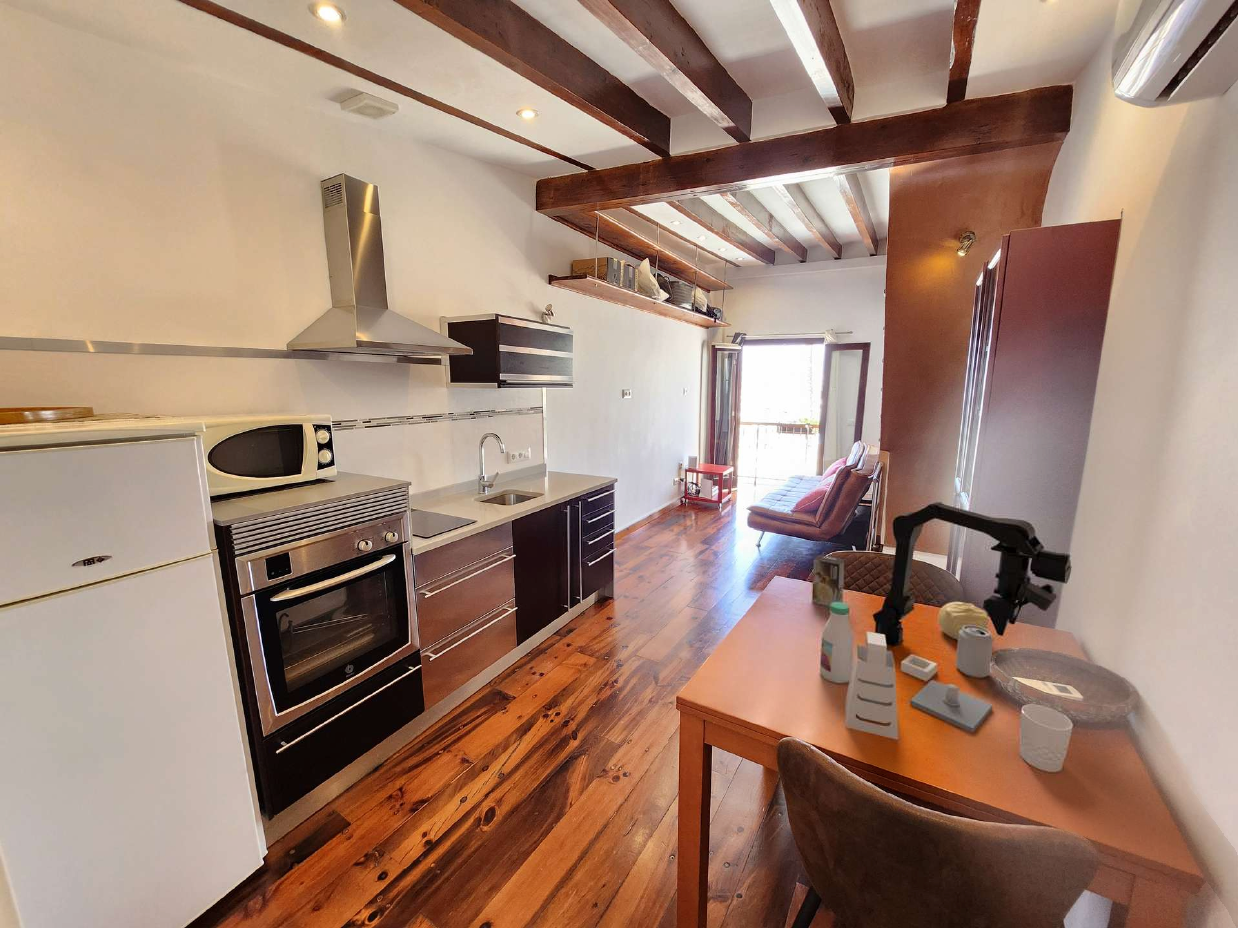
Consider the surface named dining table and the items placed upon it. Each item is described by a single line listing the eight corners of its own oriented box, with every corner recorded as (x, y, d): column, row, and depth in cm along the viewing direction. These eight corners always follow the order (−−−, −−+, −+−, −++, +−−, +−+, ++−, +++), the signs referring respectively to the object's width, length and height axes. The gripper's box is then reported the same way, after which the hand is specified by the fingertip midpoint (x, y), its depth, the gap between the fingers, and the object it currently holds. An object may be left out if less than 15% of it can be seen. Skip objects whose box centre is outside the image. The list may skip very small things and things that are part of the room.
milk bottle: (851, 671, 135) (856, 601, 132) (851, 687, 128) (856, 613, 125) (820, 665, 138) (824, 596, 135) (818, 680, 131) (822, 608, 128)
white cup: (1006, 747, 106) (1011, 705, 105) (1040, 745, 107) (1046, 702, 105) (1040, 776, 99) (1046, 730, 97) (1076, 773, 99) (1083, 728, 98)
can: (995, 680, 130) (1000, 637, 128) (963, 677, 131) (967, 635, 129) (980, 665, 137) (985, 624, 135) (950, 662, 139) (954, 621, 137)
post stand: (909, 704, 121) (911, 684, 120) (931, 683, 129) (933, 665, 128) (972, 733, 111) (974, 711, 110) (992, 709, 119) (994, 689, 118)
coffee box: (843, 602, 176) (846, 559, 174) (837, 609, 171) (840, 564, 169) (817, 596, 182) (819, 553, 180) (810, 602, 177) (813, 558, 175)
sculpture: (950, 645, 148) (953, 610, 146) (930, 625, 159) (933, 593, 158) (992, 647, 146) (996, 612, 144) (968, 627, 158) (972, 595, 156)
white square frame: (900, 670, 135) (901, 661, 135) (910, 662, 139) (911, 653, 138) (926, 681, 130) (927, 672, 130) (936, 672, 134) (937, 663, 134)
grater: (894, 710, 119) (900, 632, 115) (898, 739, 109) (905, 654, 106) (845, 700, 123) (850, 624, 120) (845, 726, 113) (851, 645, 110)
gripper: (1044, 591, 112) (1035, 655, 115) (1064, 571, 124) (1056, 629, 126) (985, 576, 121) (979, 636, 124) (1009, 559, 132) (1003, 614, 135)
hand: (1006, 629), depth 127 cm, fingers open, 9 cm apart
